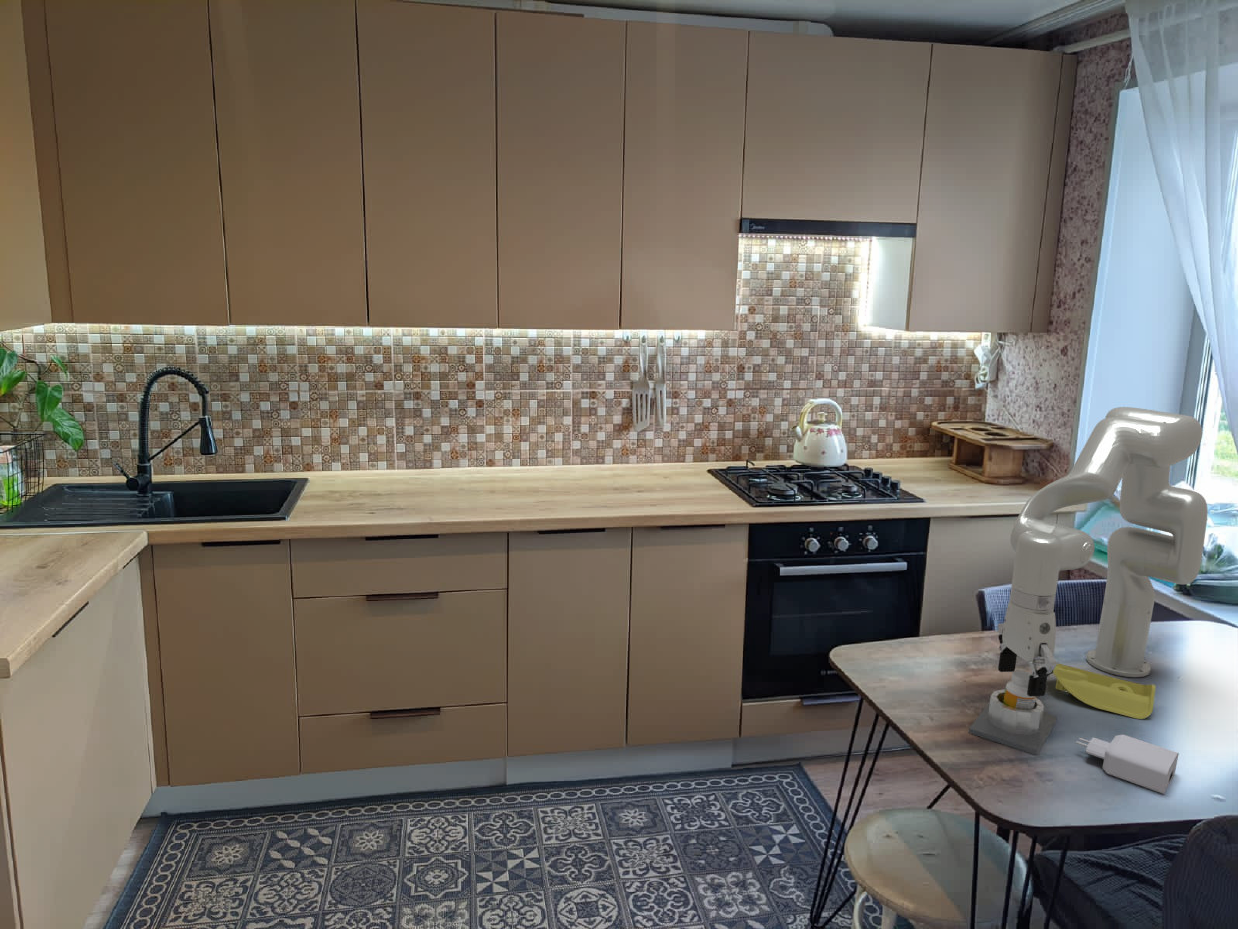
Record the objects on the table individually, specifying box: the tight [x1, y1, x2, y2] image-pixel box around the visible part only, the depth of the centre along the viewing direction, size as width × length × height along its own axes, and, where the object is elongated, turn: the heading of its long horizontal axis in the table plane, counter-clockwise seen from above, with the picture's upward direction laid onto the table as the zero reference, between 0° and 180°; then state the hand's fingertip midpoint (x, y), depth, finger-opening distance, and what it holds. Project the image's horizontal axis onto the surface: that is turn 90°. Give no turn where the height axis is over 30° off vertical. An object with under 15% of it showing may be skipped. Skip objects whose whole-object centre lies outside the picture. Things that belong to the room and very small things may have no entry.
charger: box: [1075, 734, 1180, 795], centre depth 159 cm, size 5×9×15 cm
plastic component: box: [1052, 662, 1156, 720], centre depth 185 cm, size 20×7×10 cm
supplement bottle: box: [1003, 669, 1037, 710], centre depth 171 cm, size 5×5×10 cm
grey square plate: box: [968, 688, 1058, 756], centre depth 171 cm, size 16×12×6 cm
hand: (1020, 683), depth 170 cm, fingers open, 9 cm apart
